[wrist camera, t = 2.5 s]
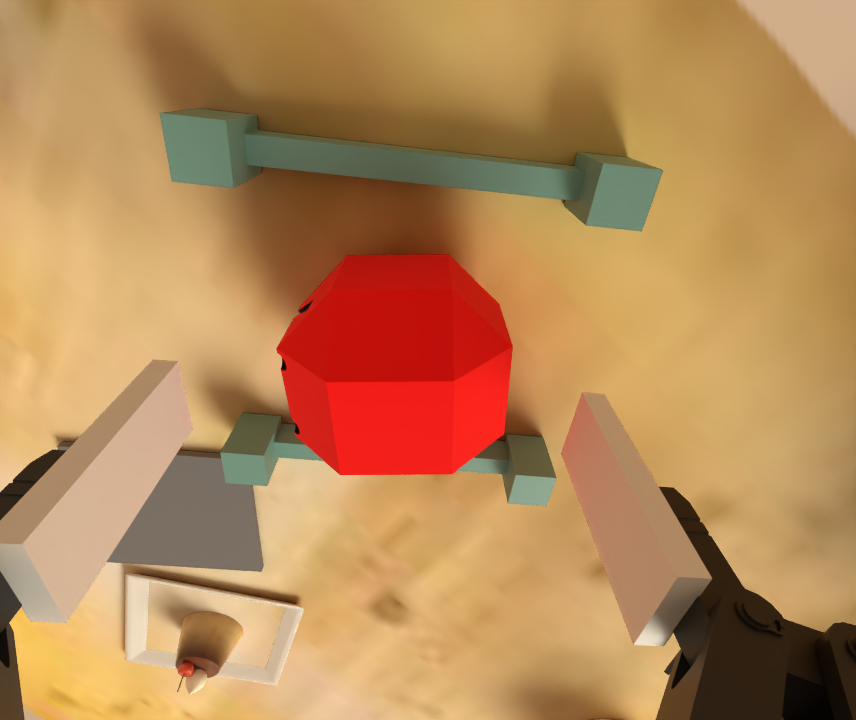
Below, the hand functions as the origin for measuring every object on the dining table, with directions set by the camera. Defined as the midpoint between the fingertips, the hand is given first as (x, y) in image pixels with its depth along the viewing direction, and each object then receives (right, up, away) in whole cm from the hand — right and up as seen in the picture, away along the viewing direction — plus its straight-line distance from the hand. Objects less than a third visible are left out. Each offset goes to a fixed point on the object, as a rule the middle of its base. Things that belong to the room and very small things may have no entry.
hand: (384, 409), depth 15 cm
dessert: (-15, -18, +20) cm, 31 cm away
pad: (-14, -7, +12) cm, 20 cm away
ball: (0, +3, +6) cm, 7 cm away
